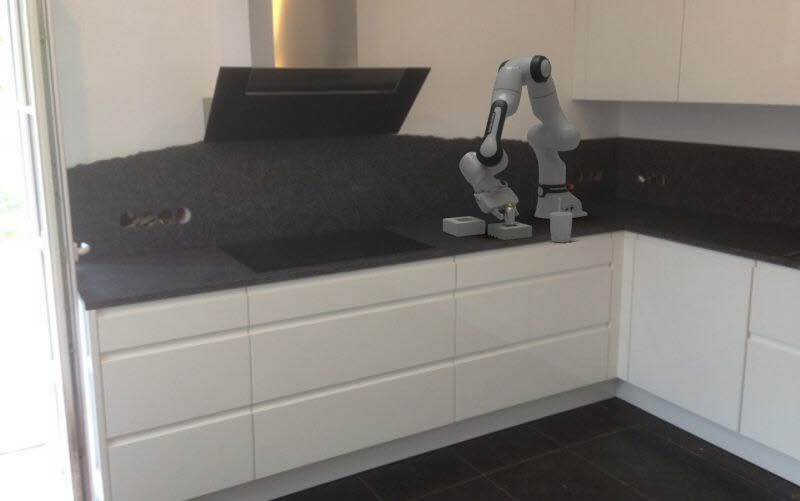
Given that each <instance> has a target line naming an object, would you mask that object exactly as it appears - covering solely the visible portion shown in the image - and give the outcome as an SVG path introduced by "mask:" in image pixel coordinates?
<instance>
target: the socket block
mask: <svg viewBox="0 0 800 501" xmlns="http://www.w3.org/2000/svg"><path fill="white" fill-rule="evenodd" d="M487 235H488V236H490V235H491V237H493V236H494V238H496V237H497V239H499V240H502V241H508V240H516V239H517V240H518V239H525V238H532V237H533V226H532V225H529V224H526V223H523V222H522V223H521V222H520V221H515V226H512V227H506V226H505V221H504V222H497V223H488V224H487Z"/></svg>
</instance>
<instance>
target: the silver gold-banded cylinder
mask: <svg viewBox="0 0 800 501" xmlns="http://www.w3.org/2000/svg"><path fill="white" fill-rule="evenodd" d="M504 216H505V218H504V222H505V226H506V227H512V226H515V220H516V219H515V218H516V217H515V204H512V203H508V204H505V209H504Z"/></svg>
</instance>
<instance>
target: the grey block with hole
mask: <svg viewBox="0 0 800 501" xmlns="http://www.w3.org/2000/svg"><path fill="white" fill-rule="evenodd" d="M442 231H443V233H446V234H450V235H452V236H454V237H457V238H459V237H466V236H475V235H477V236H478V235H484V234H486V220H484V219H481V218H478V217H474V216H471V215H469V216H468V215H467V216H459V217H450V218H442Z"/></svg>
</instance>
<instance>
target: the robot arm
mask: <svg viewBox="0 0 800 501" xmlns="http://www.w3.org/2000/svg"><path fill="white" fill-rule="evenodd" d="M551 74H552V64H551V62H550V60H549V58H548V57H546V56H545V55H539V54H537V55H527V56H526V55H525V56H521V57H518V58H517V57H516V58H514V59H507V60H505V61H503V62H501V64H500V65H499V67H498V70H497V75H496V78H495V81H494V83H493V84H494V85H493V88H492V92H491V98H490V99H491V100H490V108H489V114H488V118H487V122H486V126H485V129H484V133H483V136H482V139H481V140H480V141H479V142H478V144H477V146H476V149H475V151H469V152H467V153H466V154H464V155H463V157H461V158H460V160H459V161H460V162H459V163H458V167H459V170H460V171H461V174H462V175H463V176H464V177H463V178H464V179H465V180H466V181H467V182H468V184H470V185H471V186H472V187H473V190H474V194H473V197H474V198H475V201H476V204H477V205H478V207H479V209H480V210H481V211H482V212H483V213H484V214H490V213H491V214H492V215H493V216H495V217H496V218H497V219H498V220H499V221H503V220H505V214H503V213H501V212H500V211H503V210H504V211H505V204H508V203H512V204H515V218H516V217H518V216H519V215H520V213H519V212H518V210H517V205H518V203H519V198H518V196H517V195H516V194H515V192H514V191H513V190H512V189H511V188H510V187H508V185H509V184H508V183H507V181H505V180H502V179H497V178H496V177H494V176H496V175H498V174H500V173H501V172H503V171H505V169H506V168H507V166H508V164H509V156H508V154H507V153H506V150H505V149H504V148H503V145H502V136H503V132H504V126H505V122H506V120H507V118H508V117H511V116H513V115H514V114H516V113H517V111H518V108H519V105H520V102H521V96H522V92H523V87H525V86H526V88H527V94H528V98H529V102H530V106H531V110H532V114H533V116H535V118H536V119H538V120H539V122H541V123H539V124H534V125H532V126H530V127H529V129H528V131H527V133H526V140H527V143H528V145H529V146H530V147H531V148H532V149H533V151H534V153H535V156H536V159H537V162H538V183H537V204H536V208H535V211H534V212H535V213H534V217H536V218H539V219H549V220H550V213H552V212H569V213H572V219H574V218H580V217H581V218H582V217H586V216H588V212H586V211H583V206H582V202H581V200H580V199H578V198H577V197H576V196H575V195H574V194H573V193H572V192H570V189H571V190H573V189H574V187H575V185H574V184H573V183H569V184H568V183H567V182H566V177H567V176H566V175H567V172H566V171H567V166H566V163H565V162H564V161H563V160H562V159H561V157H560V156H559V152H567V151H572V150H576V149H577V148H578V146H579V145H580V142H581V133H580V130H579V129H578V128H577V126H575V125H573V124H572V123H571V122H570V121H569V119H568V117H567V116H566V115H565V113H564V112H563V110H562V107H561V104H560V100H559V97H558V94H557V93H558V92H557V90H556V86H555V82H554V79H553V76H552V75H551Z"/></svg>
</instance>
